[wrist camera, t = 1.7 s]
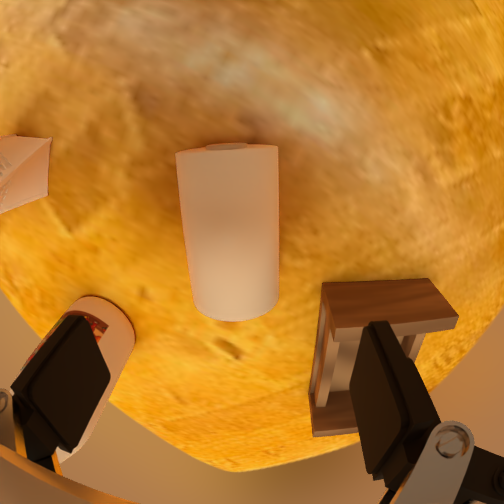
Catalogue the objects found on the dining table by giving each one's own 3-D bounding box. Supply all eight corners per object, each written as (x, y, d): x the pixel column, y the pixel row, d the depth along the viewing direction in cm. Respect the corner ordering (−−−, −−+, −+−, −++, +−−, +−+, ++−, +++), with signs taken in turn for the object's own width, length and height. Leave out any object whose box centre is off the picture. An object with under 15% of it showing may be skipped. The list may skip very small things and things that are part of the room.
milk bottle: (147, 323, 26) (62, 519, 8) (124, 363, 29) (58, 518, 11) (81, 279, 24) (-45, 442, 6) (68, 326, 27) (-22, 464, 9)
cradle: (322, 282, 23) (336, 328, 18) (428, 278, 23) (459, 316, 17) (308, 394, 29) (312, 437, 24) (391, 385, 29) (405, 424, 23)
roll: (200, 142, 20) (155, 152, 14) (285, 140, 18) (266, 147, 13) (212, 273, 24) (179, 316, 19) (285, 281, 23) (269, 330, 17)
